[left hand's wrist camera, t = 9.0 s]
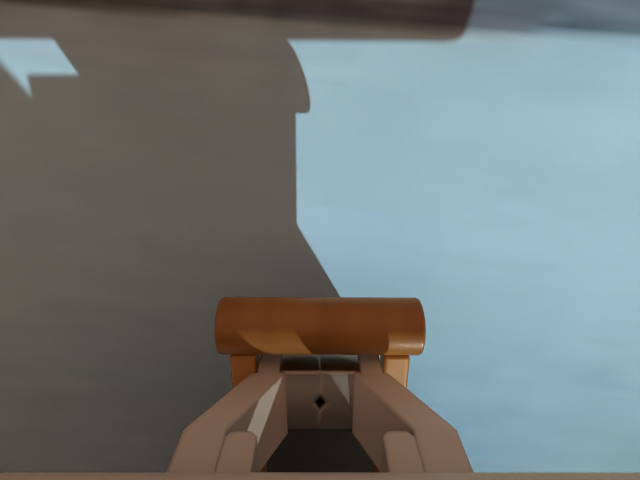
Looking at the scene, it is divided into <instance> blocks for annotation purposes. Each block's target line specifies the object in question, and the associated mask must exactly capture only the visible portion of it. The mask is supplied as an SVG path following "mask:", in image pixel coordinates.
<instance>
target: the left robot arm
mask: <svg viewBox="0 0 640 480" xmlns="http://www.w3.org/2000/svg"><path fill="white" fill-rule="evenodd" d="M311 430H328V431H352V433H353V435H354V436H355V437H356V439H357V440H358V442H359V443H360V444H361V446H362V447H363V448H364V450H365V451H366V453H367V454H368V455H369V457H370V458H371V459H372V461H373V462H374V464H375V465H376V466H377V468H378V469H379V471H380V473H348V472H260V470H261V469H262V468H263V466H264V465H265V464H266V462H267V461H268V460H269V458H270V457H271V455H272V454H273V453H274V451H275V450H276V449H277V447H278V446H279V444H280V443H281V442H282V440H283V439H284V438H285V436H286V435H287V433H288V431H311ZM0 480H640V473H474V472H473V470H472V467H471V465H470V462H469V460H468V457H467V455H466V452H465V450H464V447H463V445H462V442H461V440H460V437H459V435H458V432H457V430H456V429H455V428H453V427H452V426H451V425H450V424H449V423H447V422H446V421H445V420H444V419H443V418H441V417H440V416H439V415H438V414H437V413H435V412H434V411H433V410H432V409H431V408H429V407H428V406H427V405H426V404H425V403H423V402H422V401H421V400H420V399H419V398H417V397H416V396H415V395H414V394H413V393H411V392H410V391H409V390H408V389H407V388H405V387H404V386H403V385H402V384H401V383H399V382H398V381H397V380H396V379H395V378H393V377H392V376H391V375H390V374H389V373H383V372H382V368H381V363H380V359H379V355H275V354H261V358H260V362H259V367H258V371H257V373H251V374H250V375H249V376H248V377H246V378H245V379H244V380H243V381H242V382H240V383H239V384H238V385H237V386H236V387H234V388H233V389H232V390H231V391H230V392H228V393H227V394H226V395H225V396H224V397H222V398H221V399H220V400H219V401H217V402H216V403H215V404H214V405H213V406H211V407H210V408H209V409H208V410H207V411H205V412H204V413H203V414H202V415H201V416H199V417H198V418H197V419H196V420H194V421H193V422H192V423H191V424H190V425H188V426H187V427H186V428H185V429H184V430H183V432H182V435H181V437H180V440H179V442H178V445H177V447H176V450H175V452H174V454H173V457H172V459H171V462H170V464H169V467H168V469H167V472H166V473H105V472H0Z"/></svg>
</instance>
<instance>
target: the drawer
mask: <svg viewBox="0 0 640 480" xmlns="http://www.w3.org/2000/svg"><path fill="white" fill-rule="evenodd" d="M425 334H426V330H425V317H424V312H423V308H422V305H421V302H420V301H419V299H417V298H349V297H224V298H222V299H221V300H220V302H219V305H218V307H217V311H216V316H215V326H214V336H215V344H216V348H217V351H218V352H219V353H220V354H231V355H230V362H231V373H232V383H233V388H234V387H236V386H237V385H238V384H239V383H240V382H242V381H243V380H244V379H245V378H246V377H248V376H249V375H250V374H251V373H257V371H258V367H259V362H260V354H275V355H381V356H380V363H381V368H382V372H383V373H389V374H390V375H391V376H392V377H393V378H395V379H396V380H397V381H398V382H399V383H401V384H402V385H403V386H404V387H405V388H407V379H408V369H409V359H410V358H409V355H420V354H421V353H422V352H423V349H424V344H425ZM260 472H348V473H380V471H379V469H378V468H377V466H376V465H375V464H374V462H373V461H372V459H371V458H370V457H369V455H368V454H367V453H366V451H365V450H364V448H363V447H362V446H361V444H360V443H359V442H358V440H357V439H356V437H355V436H354V435H353V433H352V431H328V430H311V431H288V433H287V435H286V436H285V438H284V439H283V440H282V442H281V443H280V444H279V446H278V447H277V449H276V450H275V451H274V453H273V454H272V455H271V457H270V458H269V460H268V461H267V462H266V464H265V465H264V466H263V468H262V469H261V470H260Z"/></svg>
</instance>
